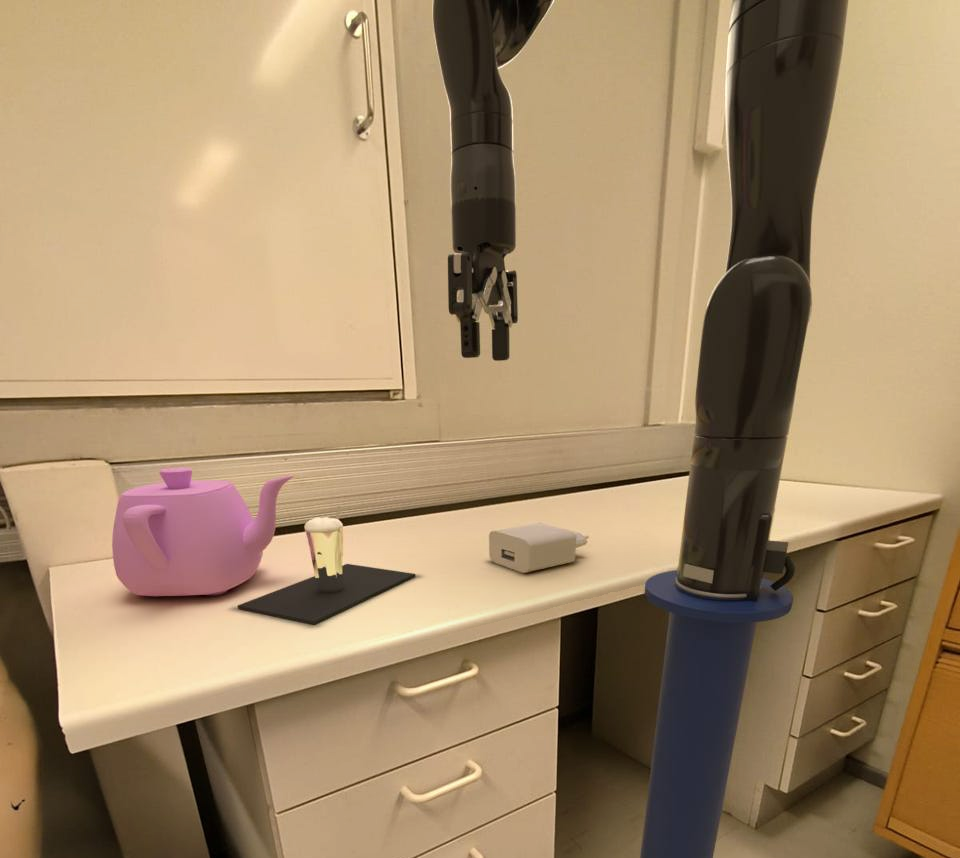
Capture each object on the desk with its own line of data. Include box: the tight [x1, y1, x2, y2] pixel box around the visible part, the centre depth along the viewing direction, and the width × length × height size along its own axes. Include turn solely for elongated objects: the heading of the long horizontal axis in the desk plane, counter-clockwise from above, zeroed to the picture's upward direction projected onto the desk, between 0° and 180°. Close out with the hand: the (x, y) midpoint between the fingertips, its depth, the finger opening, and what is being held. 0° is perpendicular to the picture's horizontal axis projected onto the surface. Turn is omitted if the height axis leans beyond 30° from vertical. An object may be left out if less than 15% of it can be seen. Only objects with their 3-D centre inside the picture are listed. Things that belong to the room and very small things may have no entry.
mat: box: [237, 563, 416, 626], centre depth 75 cm, size 12×20×1 cm, turn 152°
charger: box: [488, 522, 590, 574], centre depth 87 cm, size 5×9×15 cm
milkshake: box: [303, 505, 344, 593], centre depth 73 cm, size 4×5×10 cm
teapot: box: [111, 467, 295, 597], centre depth 74 cm, size 23×21×15 cm
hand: (486, 359), depth 74 cm, fingers open, 8 cm apart
